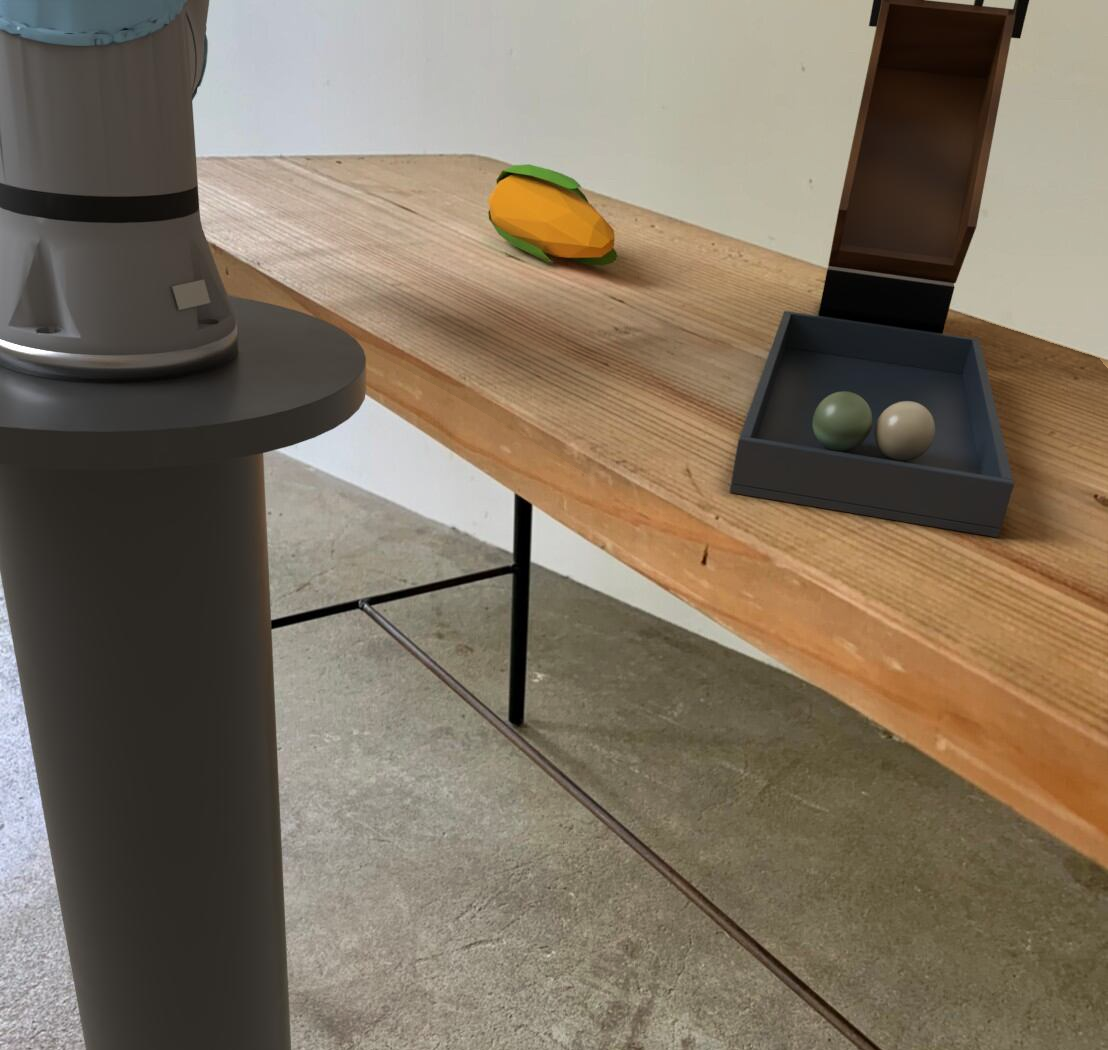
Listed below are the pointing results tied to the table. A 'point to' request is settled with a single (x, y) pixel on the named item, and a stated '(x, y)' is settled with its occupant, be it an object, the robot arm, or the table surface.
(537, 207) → the corn
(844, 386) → the tray
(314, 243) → the table surface
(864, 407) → the ball sage
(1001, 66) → the brown wooden tipping box
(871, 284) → the stand
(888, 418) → the ball ivory
